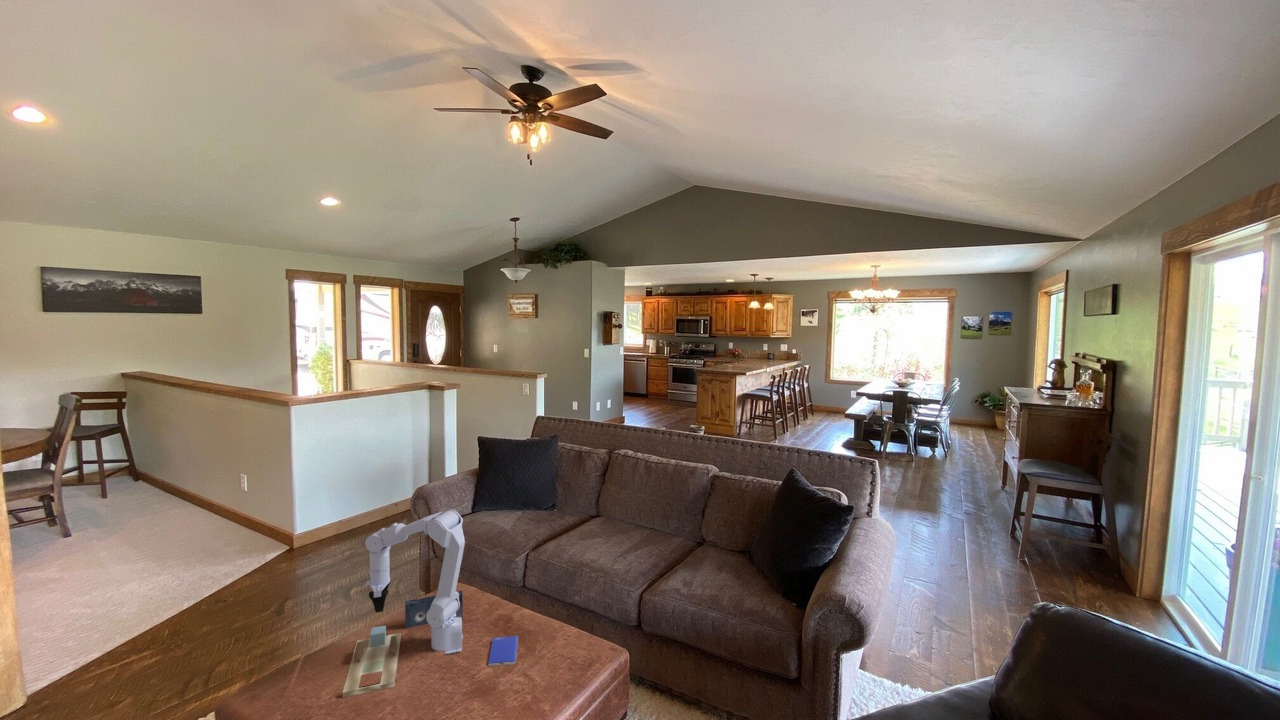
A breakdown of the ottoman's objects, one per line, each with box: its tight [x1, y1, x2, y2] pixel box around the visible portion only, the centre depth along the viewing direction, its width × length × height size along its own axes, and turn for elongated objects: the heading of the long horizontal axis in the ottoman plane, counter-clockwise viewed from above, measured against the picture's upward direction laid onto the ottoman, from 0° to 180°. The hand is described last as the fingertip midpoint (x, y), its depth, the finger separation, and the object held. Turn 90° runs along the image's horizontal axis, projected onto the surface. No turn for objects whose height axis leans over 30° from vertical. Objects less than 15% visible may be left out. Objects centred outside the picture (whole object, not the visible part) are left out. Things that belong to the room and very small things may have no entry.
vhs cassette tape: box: [404, 590, 464, 629], centre depth 175 cm, size 18×3×10 cm, turn 114°
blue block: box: [369, 625, 387, 647], centre depth 163 cm, size 4×4×4 cm
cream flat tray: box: [342, 632, 402, 698], centre depth 154 cm, size 13×24×4 cm, turn 21°
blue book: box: [487, 635, 519, 667], centre depth 162 cm, size 2×8×12 cm
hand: (380, 607), depth 168 cm, fingers open, 5 cm apart
